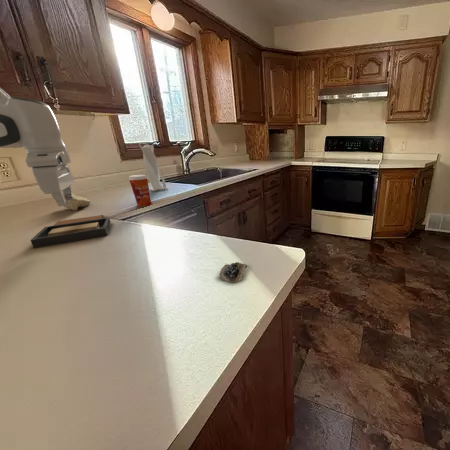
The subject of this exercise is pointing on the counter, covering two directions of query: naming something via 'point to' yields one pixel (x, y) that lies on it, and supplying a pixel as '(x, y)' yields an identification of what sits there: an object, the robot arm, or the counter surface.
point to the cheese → (76, 202)
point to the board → (74, 229)
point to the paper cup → (140, 189)
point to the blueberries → (232, 272)
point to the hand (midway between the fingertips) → (66, 202)
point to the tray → (46, 240)
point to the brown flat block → (79, 220)
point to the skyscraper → (152, 168)
